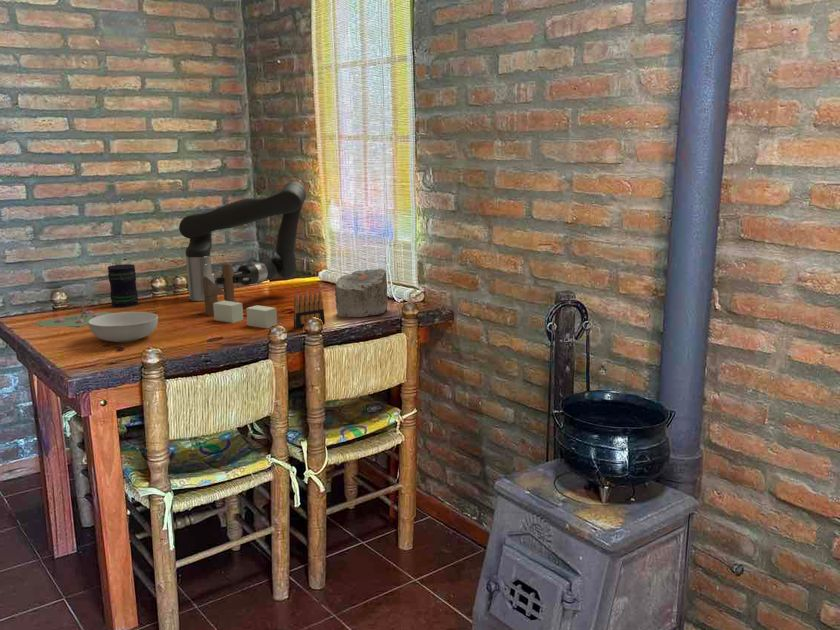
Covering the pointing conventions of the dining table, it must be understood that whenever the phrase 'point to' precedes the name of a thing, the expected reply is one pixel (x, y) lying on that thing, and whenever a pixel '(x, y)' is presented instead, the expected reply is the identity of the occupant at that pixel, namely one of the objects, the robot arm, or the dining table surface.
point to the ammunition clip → (307, 308)
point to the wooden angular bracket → (218, 289)
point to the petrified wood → (361, 293)
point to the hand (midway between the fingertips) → (217, 281)
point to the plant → (72, 318)
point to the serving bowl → (123, 326)
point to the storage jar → (123, 285)
